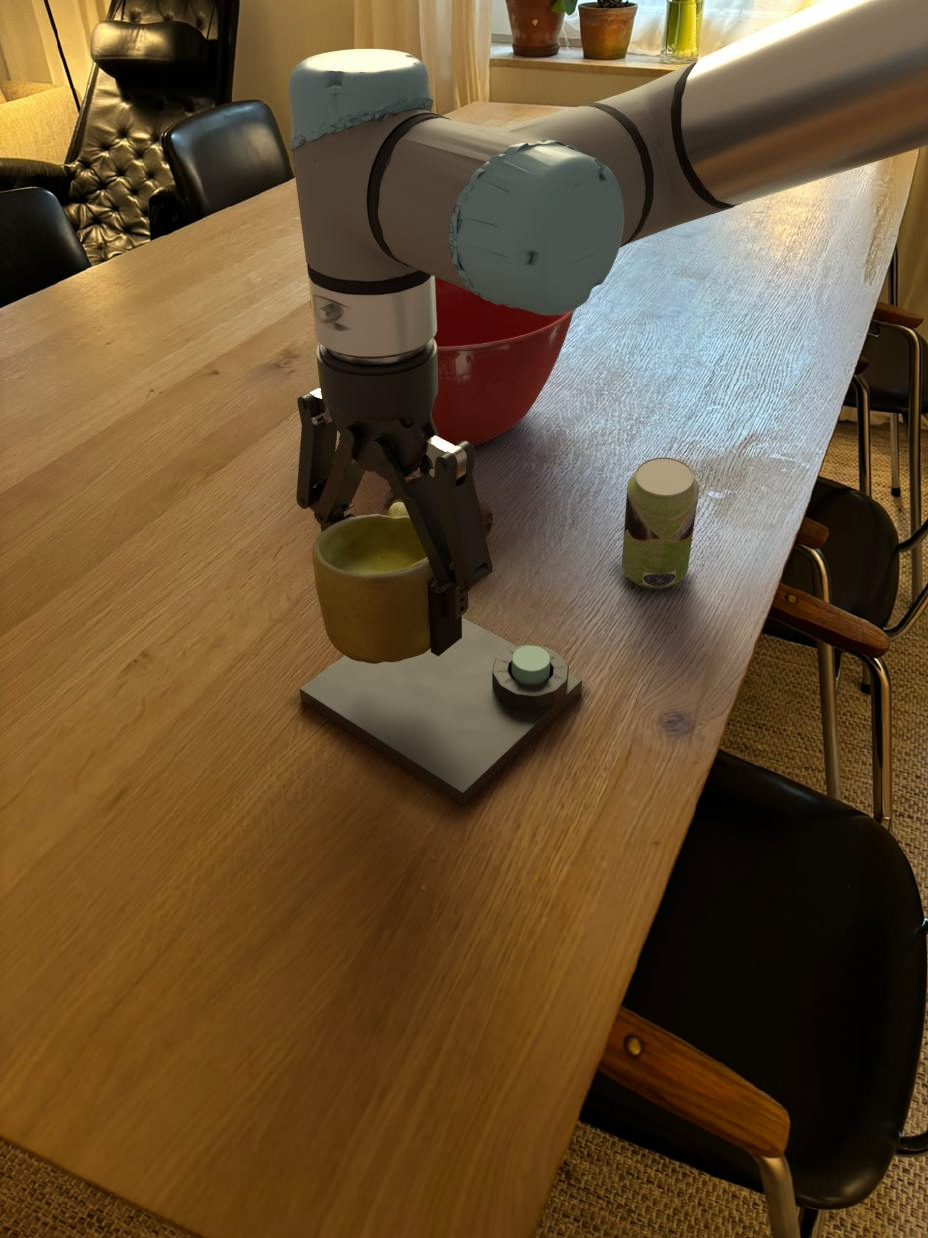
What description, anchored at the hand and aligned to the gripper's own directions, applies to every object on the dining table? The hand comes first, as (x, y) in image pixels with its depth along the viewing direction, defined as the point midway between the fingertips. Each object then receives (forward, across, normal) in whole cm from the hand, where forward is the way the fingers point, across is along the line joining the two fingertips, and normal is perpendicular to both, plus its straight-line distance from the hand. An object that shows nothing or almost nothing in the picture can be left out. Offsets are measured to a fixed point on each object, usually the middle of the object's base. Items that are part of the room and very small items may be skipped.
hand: (395, 616), depth 76 cm
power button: (+5, +9, +6) cm, 12 cm away
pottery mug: (+8, -11, +18) cm, 22 cm away
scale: (+8, +3, +2) cm, 9 cm away
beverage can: (+8, +8, +26) cm, 28 cm away
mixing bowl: (+8, -26, +36) cm, 45 cm away
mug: (0, 0, 0) cm, 1 cm away
